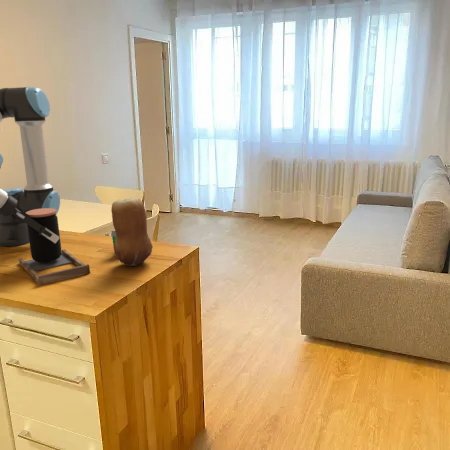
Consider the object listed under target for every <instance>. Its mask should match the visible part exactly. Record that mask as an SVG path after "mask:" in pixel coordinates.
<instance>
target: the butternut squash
mask: <svg viewBox="0 0 450 450" xmlns="http://www.w3.org/2000/svg"><path fill="white" fill-rule="evenodd" d="M110 212H111V219H112V226H113V228H114V231H116V240H115V245H114V246H113V250H114V249H115V253H114V255H115V256H116V259H117V260H118V261H119V262H120V263H121V264H124V265H127V266H130V267H138V266H139V265H140V266H141V265H142V264H144V263H145V261H146V260H147V259H148V258H149V257H150V255H151V254H152V253H153V247H154V246H153V244H152V241H151V239H150V237H149V235H148V224H147V223H148V221H147V220H148V219H147V218H148V217H147V213H146V208H145V204H144V202H143V201H142V200H141V199H140V198H137V197H131V198H126V199H118V200H115V201H113V202H112V204H111V211H110Z"/></svg>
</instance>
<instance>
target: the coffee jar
mask: <svg viewBox="0 0 450 450" xmlns="http://www.w3.org/2000/svg"><path fill="white" fill-rule="evenodd" d="M56 212H57V210H56V209H52V208H42V209H35V210H30V211H28V212H26V214H28V215H29V216H30V218H31V219H33V220H34V221H36V222H37V223H39V224H40V225H42V226H43V227H45V228H47V229H48V230H50V231H51V232H53V233H54V234H56V235H57V236H59V237H60V238H59V240H58V241H57V242H56V243H54V242H52V241H51V240H49V239H48V238H46V237H45V236H43V235H42V234H41V235H39V232H38V231H37V230H35V229H34V228H32V227H31V226H29V225H28V224H27V228H28V235H29V247H30V255H31V256H30V257H31V260H32V259H34V261H37V262H48V261H53V260H56V259H58V258H60V256H61V254H62V250H63V249H62V244H61V236H60V235H61V234H60V228H59V220H58V215H57V214H56ZM39 231H40V230H39Z"/></svg>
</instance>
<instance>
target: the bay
mask: <svg viewBox="0 0 450 450" xmlns="http://www.w3.org/2000/svg"><path fill="white" fill-rule="evenodd" d="M61 250H62V254H64V255H65V256H66V257H67V258H69V259H70V260H71V261H73V263H72V264H74V265H75V266H73V267H70V268H65V269H62V270H56V271H53V272H48V273H44V274H38V273H37V271H34V270H33V269H32V268H31V267H30V266H29V265H28V264H27V263H26V262H25V261H26V260H24V259H23V258H22V257H20V258H18V260H19V264H20V265H21V266H22V267H23V269H24V270H26V272H27V273H28V274H29V276H31V278H33V279H34V281H36V282H37V284H39V286H42V285H46V284H51V283H55V282H59V281H62V280H63V281H64V280H67V279H73V278H75V277H79V276H83V275H87V274H88V275H89V274H91V269H90V268H91V267H90V265H89V264H88V263H87V264H84V263H83V262H82V261H81V260H79V259H78V258H77V257H75V255H73V254H72V253H70V252H69V251H67V250H66V249H61Z"/></svg>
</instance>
